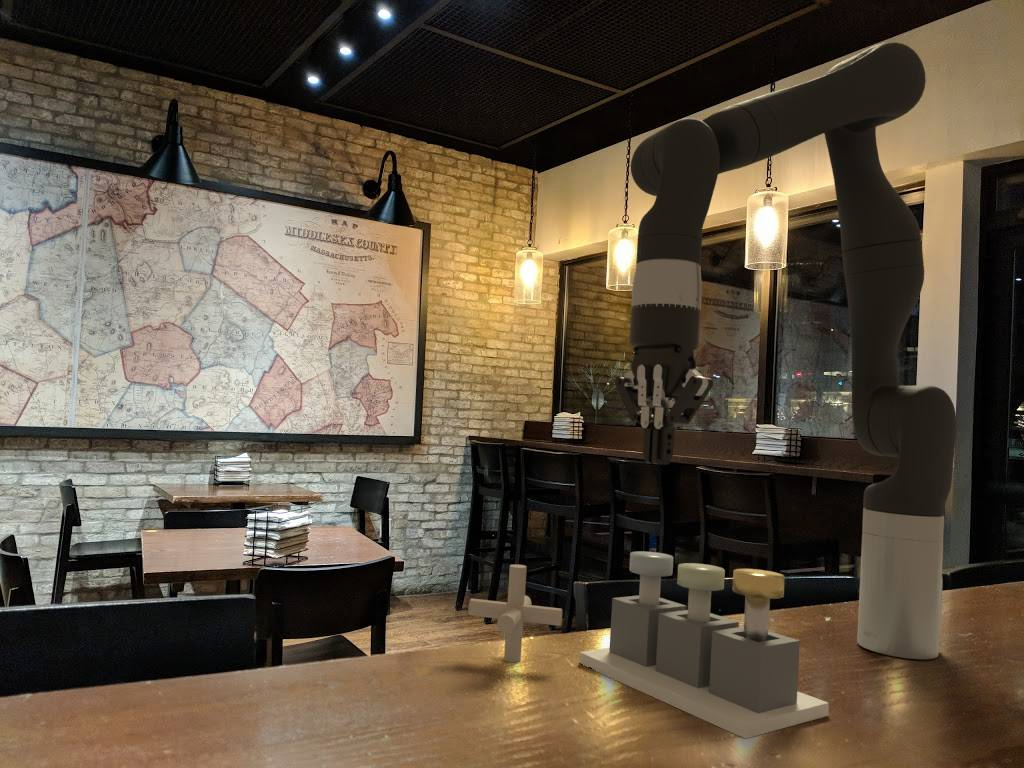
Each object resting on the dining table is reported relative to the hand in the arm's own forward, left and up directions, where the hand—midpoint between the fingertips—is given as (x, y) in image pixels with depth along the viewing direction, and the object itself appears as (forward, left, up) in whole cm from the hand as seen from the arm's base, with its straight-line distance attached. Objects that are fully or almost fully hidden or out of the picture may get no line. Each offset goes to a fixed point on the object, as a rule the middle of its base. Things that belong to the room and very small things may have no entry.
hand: (656, 463), depth 87 cm
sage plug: (0, +7, -18) cm, 20 cm away
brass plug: (0, +14, -18) cm, 22 cm away
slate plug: (0, 0, -18) cm, 18 cm away
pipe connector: (+12, -8, -22) cm, 26 cm away
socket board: (0, +7, -22) cm, 23 cm away
